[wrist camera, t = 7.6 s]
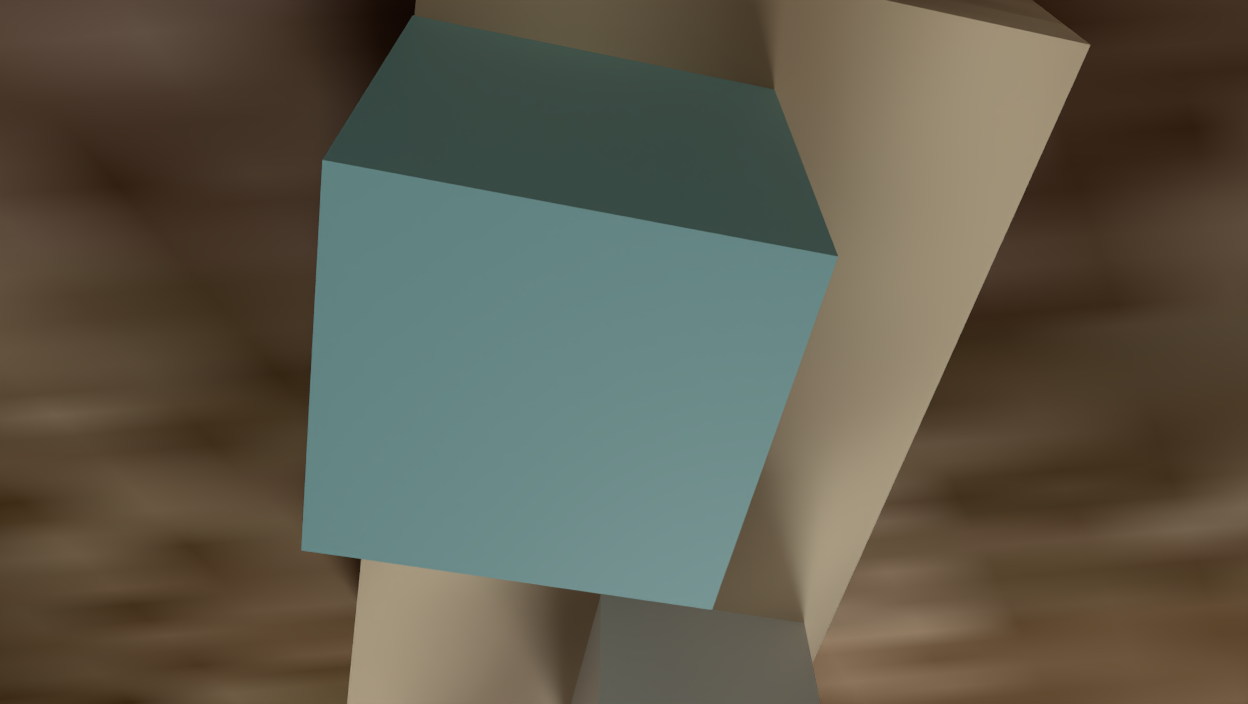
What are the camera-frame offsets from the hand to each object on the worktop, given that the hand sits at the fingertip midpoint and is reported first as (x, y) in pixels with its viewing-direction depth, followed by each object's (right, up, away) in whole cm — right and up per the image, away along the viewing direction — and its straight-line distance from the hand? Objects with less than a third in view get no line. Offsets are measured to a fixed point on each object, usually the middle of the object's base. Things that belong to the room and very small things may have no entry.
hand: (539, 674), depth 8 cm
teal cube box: (0, +5, +7) cm, 9 cm away
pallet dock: (+1, +2, +12) cm, 12 cm away
